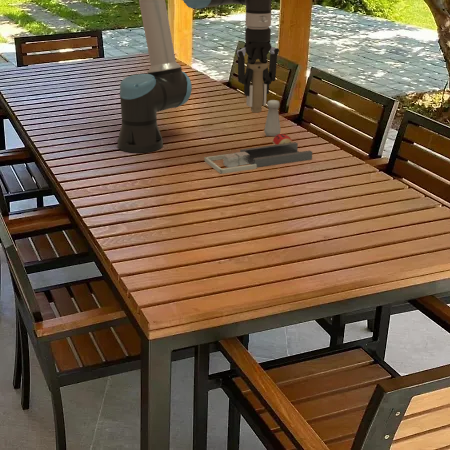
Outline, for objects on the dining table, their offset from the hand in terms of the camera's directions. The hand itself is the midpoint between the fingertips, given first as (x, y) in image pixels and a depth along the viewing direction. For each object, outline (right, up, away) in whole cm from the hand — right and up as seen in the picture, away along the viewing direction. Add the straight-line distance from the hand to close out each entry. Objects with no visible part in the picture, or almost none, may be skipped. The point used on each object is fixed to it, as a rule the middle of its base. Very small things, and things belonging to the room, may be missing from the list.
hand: (256, 104), depth 221 cm
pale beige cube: (-4, -18, +4) cm, 19 cm away
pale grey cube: (-8, -19, +2) cm, 21 cm away
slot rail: (+7, -17, +8) cm, 20 cm away
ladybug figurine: (+10, -10, +24) cm, 28 cm away
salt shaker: (+7, -6, +33) cm, 34 cm away
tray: (-8, -19, +3) cm, 21 cm away
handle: (0, -2, +1) cm, 2 cm away
